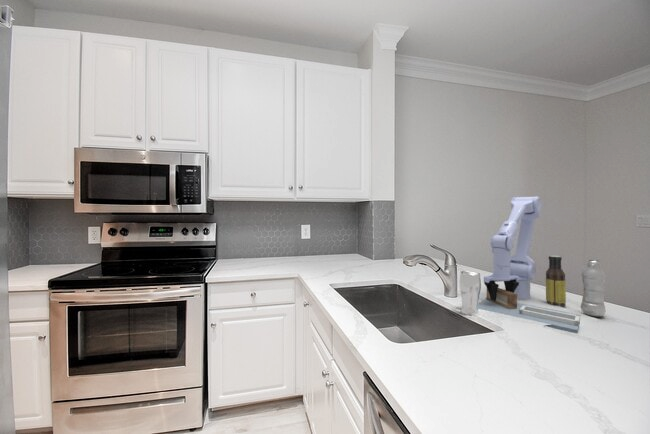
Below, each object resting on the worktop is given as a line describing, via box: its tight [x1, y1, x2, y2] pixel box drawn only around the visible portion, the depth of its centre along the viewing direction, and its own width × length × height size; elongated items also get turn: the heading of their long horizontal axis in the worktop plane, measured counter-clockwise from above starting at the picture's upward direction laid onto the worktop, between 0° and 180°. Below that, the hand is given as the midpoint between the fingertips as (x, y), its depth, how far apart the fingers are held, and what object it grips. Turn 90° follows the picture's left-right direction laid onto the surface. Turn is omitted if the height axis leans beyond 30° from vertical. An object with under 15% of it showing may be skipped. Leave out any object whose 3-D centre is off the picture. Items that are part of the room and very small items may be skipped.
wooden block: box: [485, 287, 518, 309], centre depth 115 cm, size 3×12×6 cm, turn 11°
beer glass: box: [459, 270, 482, 317], centre depth 107 cm, size 7×7×15 cm
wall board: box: [478, 297, 582, 334], centre depth 107 cm, size 18×30×2 cm, turn 46°
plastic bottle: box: [580, 259, 607, 318], centre depth 105 cm, size 6×7×20 cm
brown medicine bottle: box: [545, 255, 567, 308], centre depth 115 cm, size 6×6×20 cm
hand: (501, 299), depth 115 cm, fingers open, 7 cm apart
